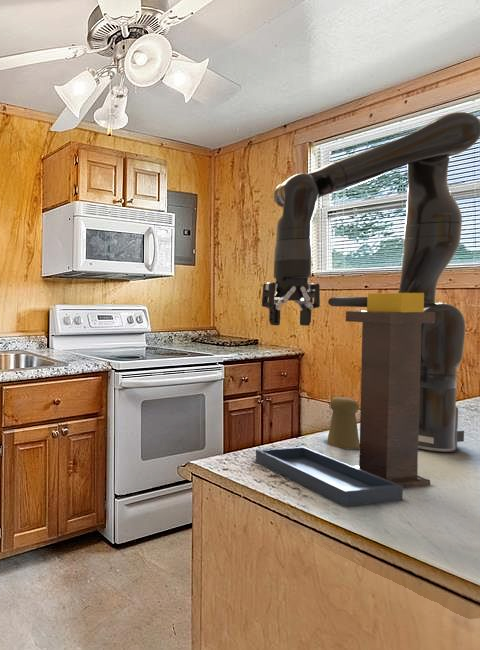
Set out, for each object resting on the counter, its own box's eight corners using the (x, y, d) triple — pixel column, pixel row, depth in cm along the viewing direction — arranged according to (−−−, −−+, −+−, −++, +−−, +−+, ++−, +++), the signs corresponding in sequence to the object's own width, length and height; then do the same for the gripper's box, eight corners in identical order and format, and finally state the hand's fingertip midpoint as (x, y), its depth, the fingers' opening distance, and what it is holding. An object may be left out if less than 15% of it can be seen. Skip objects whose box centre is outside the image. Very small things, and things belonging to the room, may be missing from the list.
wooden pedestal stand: (384, 468, 86) (388, 310, 85) (430, 485, 78) (435, 312, 77) (342, 471, 84) (345, 311, 83) (385, 489, 76) (389, 312, 75)
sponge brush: (339, 309, 92) (339, 293, 92) (423, 312, 77) (424, 292, 77) (319, 309, 92) (319, 293, 92) (401, 312, 76) (401, 293, 76)
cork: (347, 440, 102) (348, 395, 102) (366, 449, 96) (368, 401, 96) (321, 439, 103) (322, 394, 103) (338, 448, 97) (339, 401, 97)
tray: (302, 457, 92) (303, 446, 92) (402, 500, 73) (403, 486, 72) (255, 461, 90) (255, 449, 90) (345, 506, 71) (345, 491, 70)
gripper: (280, 257, 99) (277, 326, 99) (331, 258, 101) (328, 326, 102) (255, 259, 106) (252, 324, 107) (303, 261, 109) (301, 324, 109)
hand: (290, 325), depth 104 cm, fingers open, 8 cm apart
